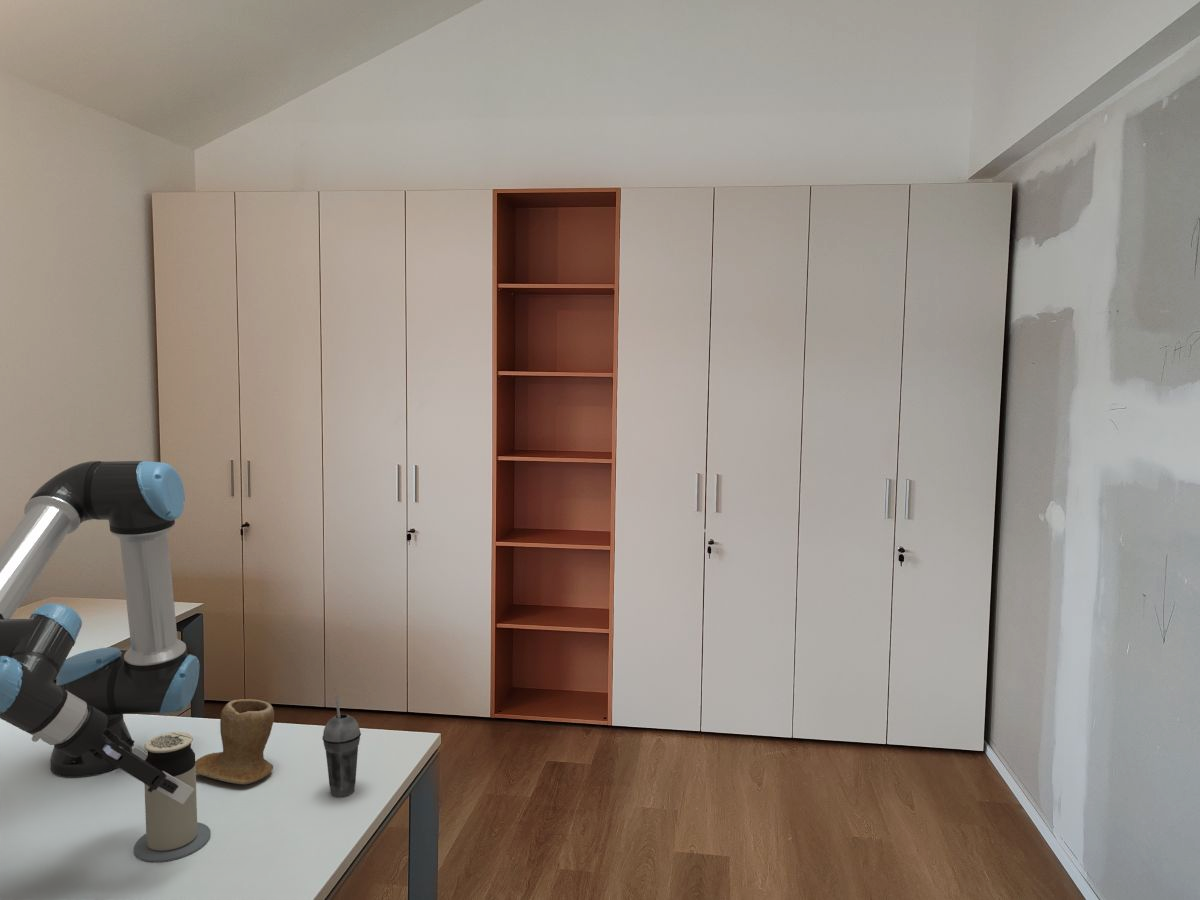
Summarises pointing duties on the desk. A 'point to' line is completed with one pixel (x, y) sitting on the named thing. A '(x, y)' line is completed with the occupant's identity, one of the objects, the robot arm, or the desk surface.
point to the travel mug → (165, 815)
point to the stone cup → (241, 743)
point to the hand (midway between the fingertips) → (172, 782)
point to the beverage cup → (341, 752)
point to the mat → (162, 856)
